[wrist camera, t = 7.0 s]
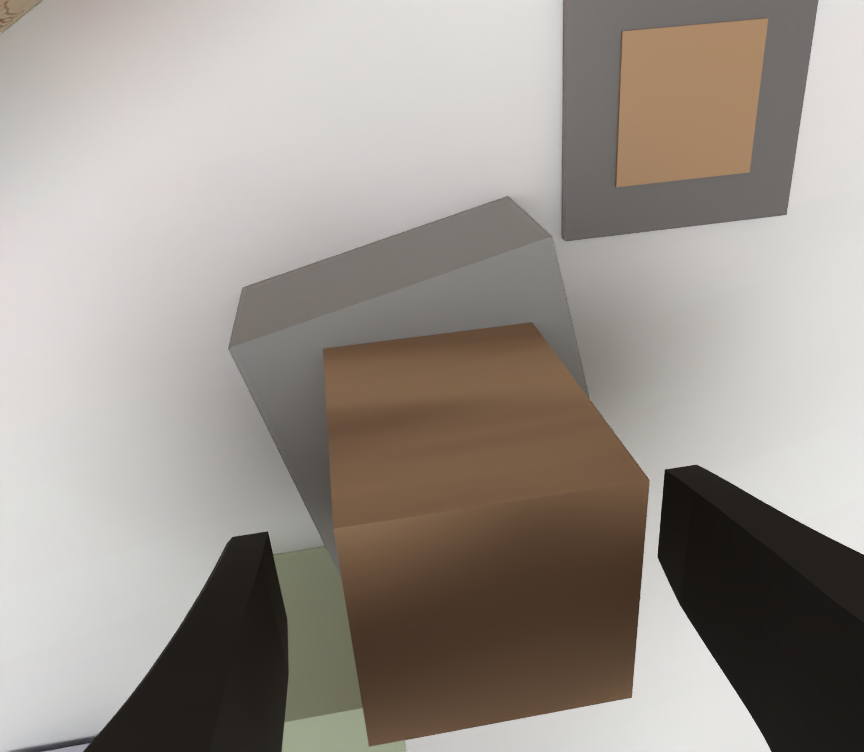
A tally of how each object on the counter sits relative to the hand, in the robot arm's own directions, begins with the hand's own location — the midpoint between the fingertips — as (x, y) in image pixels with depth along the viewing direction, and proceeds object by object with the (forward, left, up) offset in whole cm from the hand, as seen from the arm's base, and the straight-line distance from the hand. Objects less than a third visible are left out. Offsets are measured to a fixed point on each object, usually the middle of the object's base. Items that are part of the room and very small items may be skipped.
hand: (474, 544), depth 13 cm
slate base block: (0, 0, -8) cm, 8 cm away
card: (+6, -7, -8) cm, 12 cm away
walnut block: (0, 0, -4) cm, 4 cm away
